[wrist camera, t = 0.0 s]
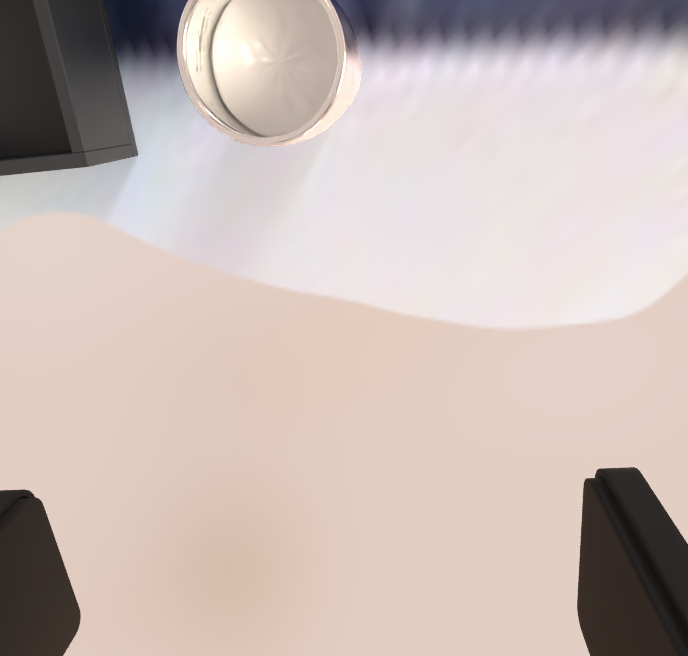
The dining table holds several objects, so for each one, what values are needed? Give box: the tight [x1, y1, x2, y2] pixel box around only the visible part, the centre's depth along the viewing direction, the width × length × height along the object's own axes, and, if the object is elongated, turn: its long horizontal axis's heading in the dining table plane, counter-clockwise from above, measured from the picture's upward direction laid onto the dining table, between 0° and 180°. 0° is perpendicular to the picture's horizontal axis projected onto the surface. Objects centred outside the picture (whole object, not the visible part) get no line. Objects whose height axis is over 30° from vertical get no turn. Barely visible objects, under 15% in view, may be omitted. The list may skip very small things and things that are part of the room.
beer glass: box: [177, 0, 361, 146], centre depth 29 cm, size 7×7×15 cm
